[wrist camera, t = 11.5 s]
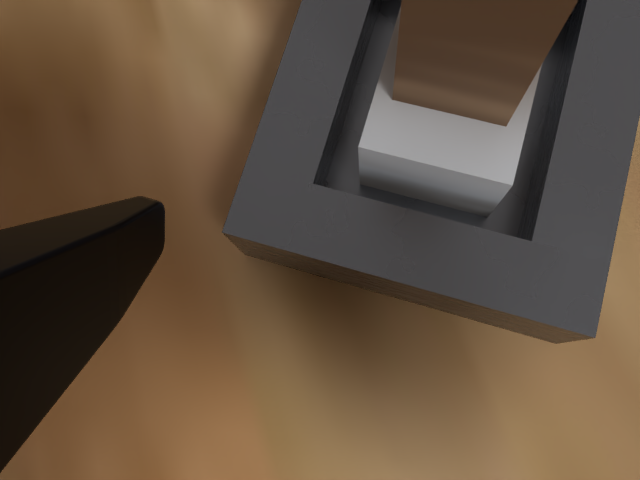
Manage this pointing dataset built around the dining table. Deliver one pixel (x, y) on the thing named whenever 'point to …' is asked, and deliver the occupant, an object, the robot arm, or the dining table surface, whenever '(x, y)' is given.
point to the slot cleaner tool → (457, 99)
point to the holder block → (436, 220)
